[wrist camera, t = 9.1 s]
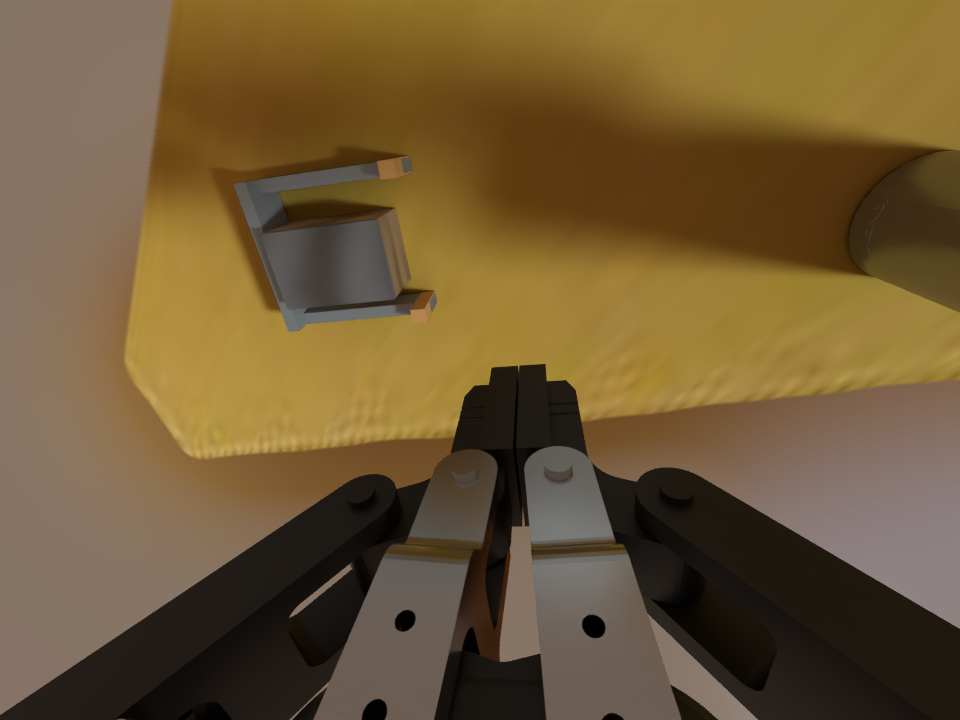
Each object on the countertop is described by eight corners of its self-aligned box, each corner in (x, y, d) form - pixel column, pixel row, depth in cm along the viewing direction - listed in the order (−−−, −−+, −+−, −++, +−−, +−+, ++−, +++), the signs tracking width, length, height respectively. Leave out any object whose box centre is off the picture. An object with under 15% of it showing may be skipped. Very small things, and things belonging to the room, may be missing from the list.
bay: (409, 155, 32) (393, 158, 29) (436, 303, 38) (427, 322, 34) (262, 177, 34) (228, 183, 30) (309, 315, 40) (286, 334, 36)
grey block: (396, 207, 35) (375, 219, 30) (411, 277, 37) (394, 299, 32) (295, 220, 36) (259, 234, 31) (317, 287, 39) (287, 309, 34)
